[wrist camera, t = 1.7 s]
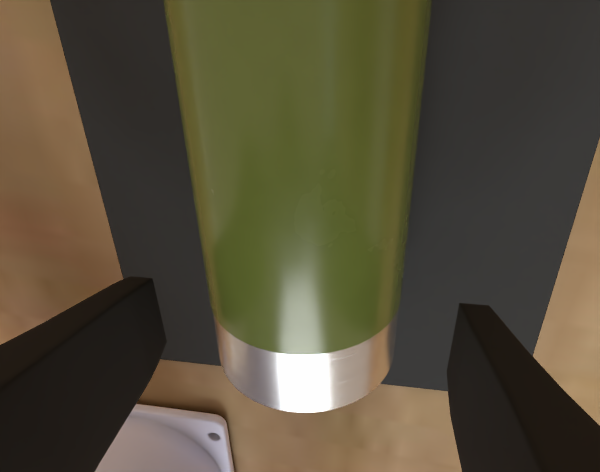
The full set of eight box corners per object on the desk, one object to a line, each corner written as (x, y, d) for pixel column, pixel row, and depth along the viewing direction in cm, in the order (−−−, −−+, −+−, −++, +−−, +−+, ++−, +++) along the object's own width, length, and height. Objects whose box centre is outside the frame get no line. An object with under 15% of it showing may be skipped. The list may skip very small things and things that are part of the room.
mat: (516, 390, 15) (519, 399, 15) (148, 350, 17) (143, 357, 17) (937, -1015, 5) (981, -1095, 4) (-110, -663, 7) (-135, -697, 7)
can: (431, -103, 9) (393, 297, 14) (208, -89, 10) (246, 285, 15) (473, -196, 5) (396, 427, 10) (72, -157, 5) (190, 401, 10)
